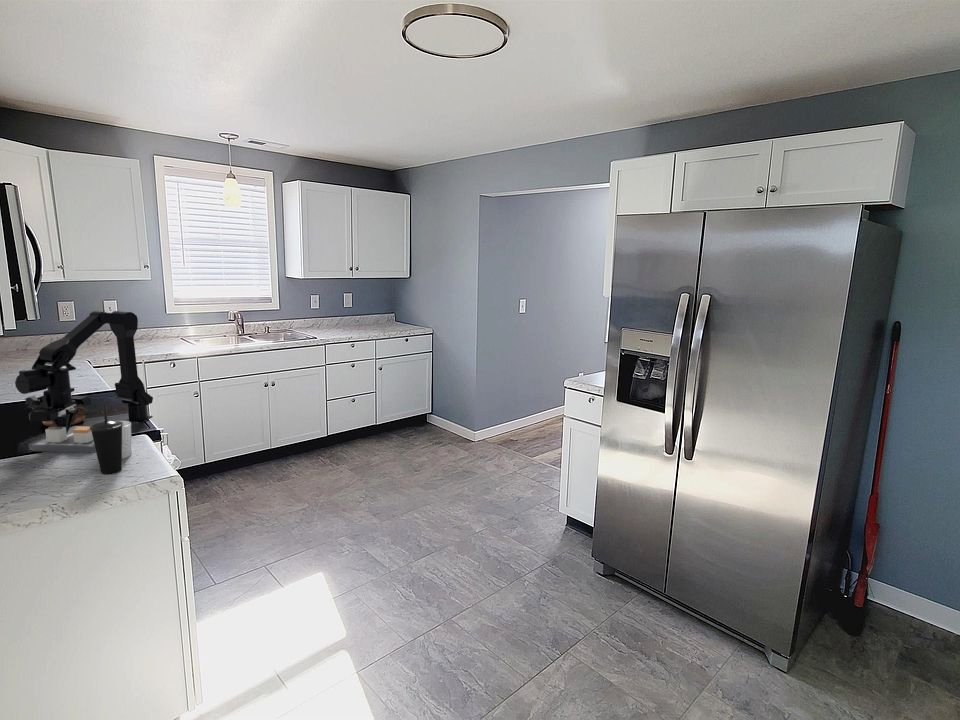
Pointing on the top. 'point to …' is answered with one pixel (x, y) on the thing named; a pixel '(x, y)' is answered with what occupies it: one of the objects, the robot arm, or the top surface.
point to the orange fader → (82, 435)
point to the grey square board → (65, 444)
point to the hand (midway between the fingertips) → (64, 434)
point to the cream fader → (56, 434)
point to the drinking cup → (108, 444)
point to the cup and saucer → (77, 419)
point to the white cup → (126, 439)
